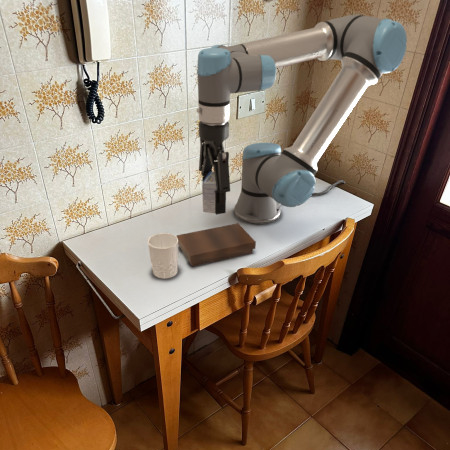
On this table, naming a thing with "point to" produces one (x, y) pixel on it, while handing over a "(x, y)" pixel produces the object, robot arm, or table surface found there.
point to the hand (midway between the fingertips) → (213, 205)
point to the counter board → (216, 244)
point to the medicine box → (209, 193)
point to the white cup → (164, 254)
